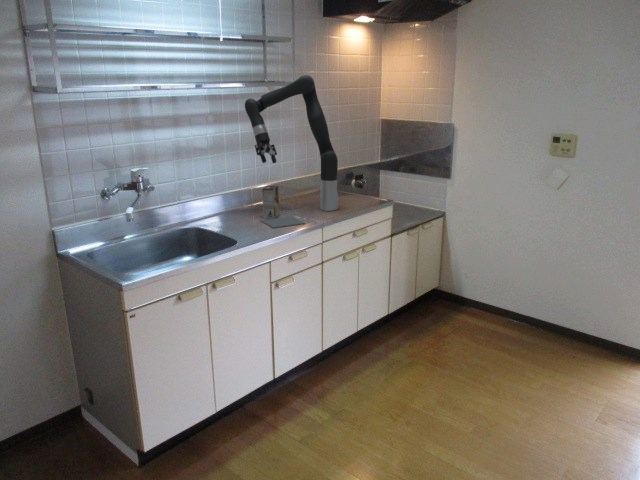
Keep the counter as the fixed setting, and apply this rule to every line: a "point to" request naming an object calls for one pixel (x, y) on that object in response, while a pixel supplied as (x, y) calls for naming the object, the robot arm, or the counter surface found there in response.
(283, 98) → the robot arm
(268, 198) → the coffee box
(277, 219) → the rubber mat
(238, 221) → the counter surface
